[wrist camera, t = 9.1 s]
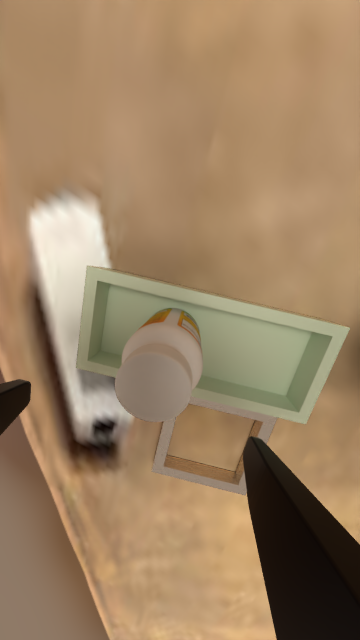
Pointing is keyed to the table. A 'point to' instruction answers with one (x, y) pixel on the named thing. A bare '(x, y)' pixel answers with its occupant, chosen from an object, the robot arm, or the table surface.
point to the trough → (216, 342)
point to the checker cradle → (204, 472)
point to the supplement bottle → (160, 366)
